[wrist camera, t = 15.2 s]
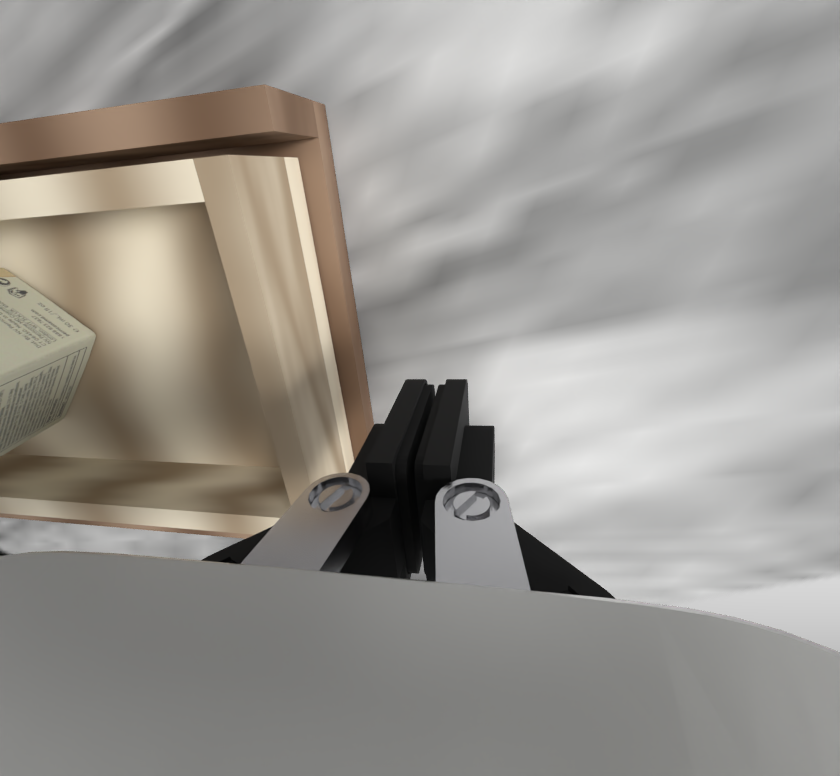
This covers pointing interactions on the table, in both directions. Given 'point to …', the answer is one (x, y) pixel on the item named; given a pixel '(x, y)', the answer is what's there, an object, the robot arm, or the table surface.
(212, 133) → the wooden serving tray
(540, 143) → the table surface
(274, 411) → the birch crate
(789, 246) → the table surface
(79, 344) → the skincare box
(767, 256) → the table surface
